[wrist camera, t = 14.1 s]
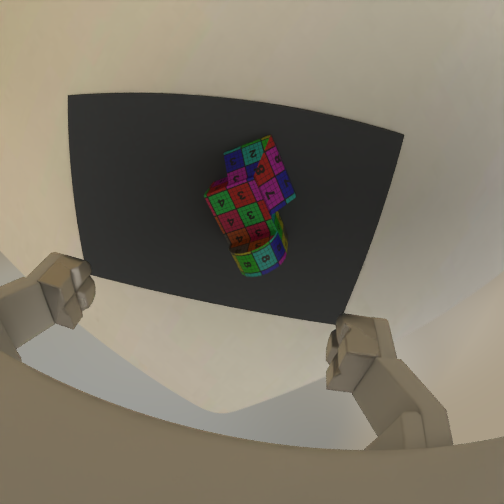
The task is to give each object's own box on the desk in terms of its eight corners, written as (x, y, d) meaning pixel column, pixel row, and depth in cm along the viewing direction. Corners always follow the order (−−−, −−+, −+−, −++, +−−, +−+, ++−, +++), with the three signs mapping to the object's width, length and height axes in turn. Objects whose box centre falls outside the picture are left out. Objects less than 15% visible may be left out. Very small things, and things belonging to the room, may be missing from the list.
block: (308, 229, 18) (310, 262, 15) (245, 248, 20) (236, 282, 17) (271, 134, 16) (264, 149, 13) (202, 161, 17) (183, 181, 14)
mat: (403, 134, 14) (404, 135, 14) (337, 324, 22) (338, 325, 22) (68, 95, 15) (67, 95, 15) (87, 273, 23) (87, 273, 23)
